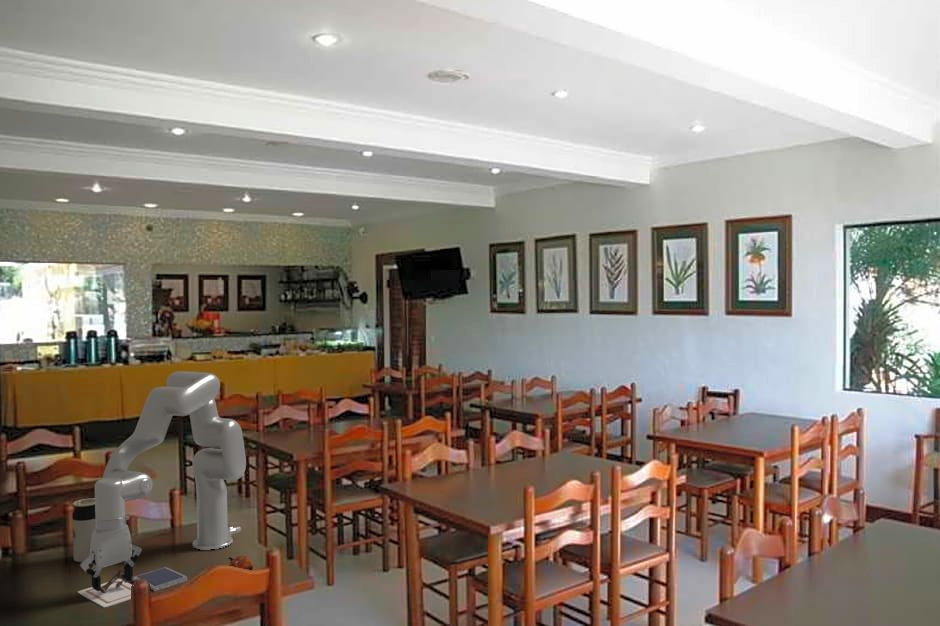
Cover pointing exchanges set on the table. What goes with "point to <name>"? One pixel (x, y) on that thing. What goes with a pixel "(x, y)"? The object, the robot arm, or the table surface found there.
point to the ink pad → (162, 578)
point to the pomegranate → (241, 562)
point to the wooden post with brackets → (120, 573)
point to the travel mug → (83, 527)
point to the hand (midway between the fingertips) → (112, 584)
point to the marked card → (109, 594)
